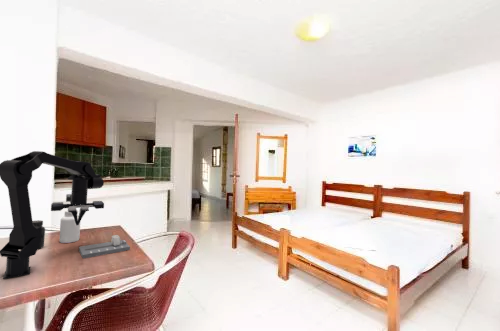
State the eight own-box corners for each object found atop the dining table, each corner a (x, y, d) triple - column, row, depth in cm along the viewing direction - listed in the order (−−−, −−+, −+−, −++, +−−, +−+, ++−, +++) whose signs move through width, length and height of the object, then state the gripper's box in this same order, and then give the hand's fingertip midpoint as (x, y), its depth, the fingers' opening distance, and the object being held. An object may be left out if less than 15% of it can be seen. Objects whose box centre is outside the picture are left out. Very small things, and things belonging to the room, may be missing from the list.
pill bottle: (81, 237, 122) (83, 209, 122) (76, 242, 115) (78, 212, 115) (62, 238, 119) (64, 209, 119) (56, 244, 112) (58, 212, 112)
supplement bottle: (31, 251, 101) (33, 223, 101) (19, 249, 102) (20, 222, 103) (48, 246, 108) (49, 220, 108) (36, 244, 109) (37, 219, 109)
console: (129, 249, 109) (130, 244, 109) (82, 258, 97) (83, 252, 97) (122, 242, 118) (123, 237, 118) (78, 250, 106) (79, 244, 106)
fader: (119, 245, 109) (120, 237, 109) (113, 246, 107) (114, 238, 107) (117, 242, 113) (117, 234, 113) (111, 243, 111) (111, 235, 111)
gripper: (101, 188, 116) (99, 219, 116) (52, 188, 104) (49, 223, 104) (105, 190, 108) (103, 224, 108) (52, 190, 96) (49, 229, 96)
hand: (77, 225), depth 104 cm, fingers closed
